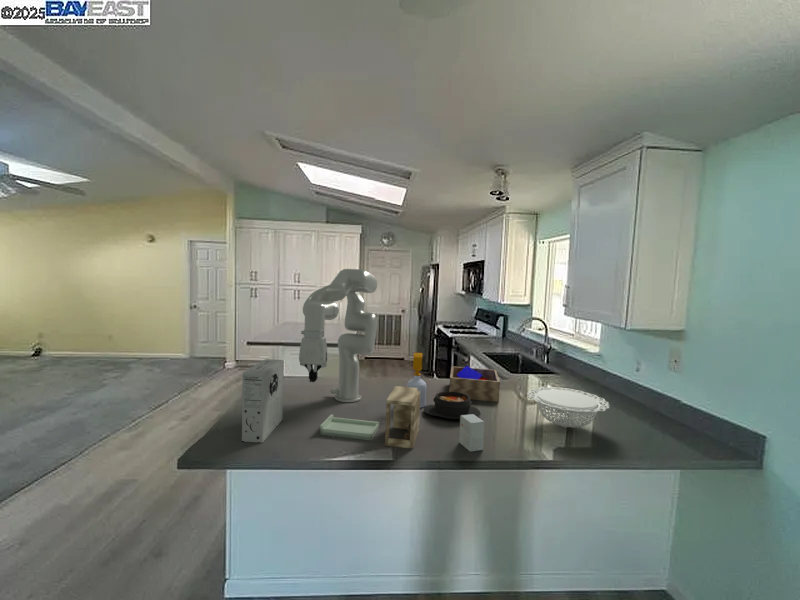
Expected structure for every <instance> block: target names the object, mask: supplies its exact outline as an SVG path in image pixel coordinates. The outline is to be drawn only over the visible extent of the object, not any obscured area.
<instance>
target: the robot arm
mask: <svg viewBox="0 0 800 600" xmlns="http://www.w3.org/2000/svg"><path fill="white" fill-rule="evenodd" d="M377 289H378V280H377V278H376V276H375V275H373V273H371V272H369V271H367V270H365V269H359V268H358V269H357V268H343V269H342V270H340V271H339V272H338V273H337V275H336V276H335V277H334V279H333V280H332V282H331V283H330V284H328V285H325V286H323V287H320V288H319V289H317V290H315V291H313V292H312V293H310V295H309V296H308V297H307V298H306V300H305V301H304V303H303V305H302V314H303V316H304V329H303V330H301V331H300V334H301V335H303V337H302V338H301V340H300V346H299V354H298V362H299V365H300V366H302V367H305V369H306V370H307V372H308V379H309V382H310V383H315V382H317V380H318V378H319V377H318V374H319V372H318V371H319V370H320V369H324V368H326V367H328V345H327V344H328V343H327V339H326V337H325V325H326V324H325V322H326V321H331V320H335V319H336V318H337V317H338V315H339V311H340V308H339V305H338V304H337V303H336V302H338V301H343V299H345V298H346V300H347V304H346V311H345V317H344V328H345V329H346V330H347V331H350V332H360V334H359V333H348V332H347V333H343V334H341V335H339V337H338V339H337V349H338V357H339V358H338V359H339V363H338V365H339V368H338V387H337V388H332V387H331V388H330V391H329V392H330V393H331V394H335V395H334V397H335V398H334V399H335V400H336V401H338V402H340V403H356V402H358V401H361V400H362V395H361V394H360V393H359V383H360V382H359V380H360V379H359V378H360V377H359V376H360V360H359V359H358V356H359V355H361V356H370V355H372V354H373V353H374V350H375V344H376V338H377V330H378V317H377V314H375V313H373V312H365V306H366V302H365V300H364V298H363V296H362V295H361V293H364V294H372V293H374V292H376V290H377ZM361 333H364V334H361ZM357 355H358V356H357Z"/></svg>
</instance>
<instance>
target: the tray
mask: <svg viewBox="0 0 800 600" xmlns="http://www.w3.org/2000/svg"><path fill="white" fill-rule="evenodd" d="M379 429H380V421H374V420H373V421H371V420H364V419H363V420H362V419H354V418H353V419H352V418H346V417H345V418H343V417H335V416H334V414H330V415H329V416H328V417H326V419H325V420H324V421H323V422H322V423H321V424H320V425H319V435H321V436H327V437H337V438H344V439H346V438H347V439H356V440H365V441H373V439H374V438H375V435H376V433H377V432H378V430H379Z"/></svg>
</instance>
